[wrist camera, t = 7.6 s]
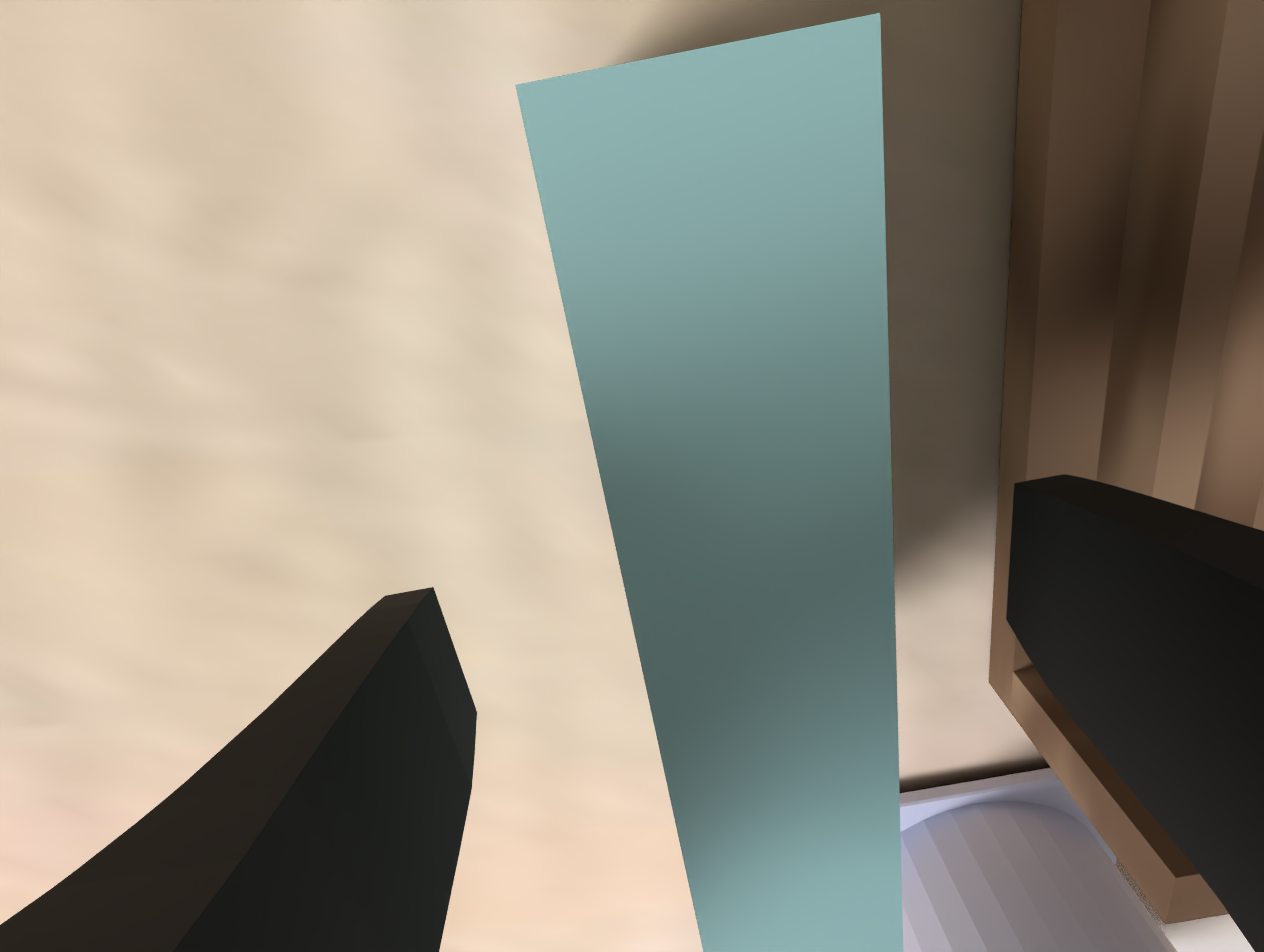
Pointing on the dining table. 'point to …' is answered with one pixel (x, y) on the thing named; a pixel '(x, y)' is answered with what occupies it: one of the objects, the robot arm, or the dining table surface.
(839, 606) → the teal sheet
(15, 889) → the dining table surface
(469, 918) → the dining table surface
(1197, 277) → the walnut rack
